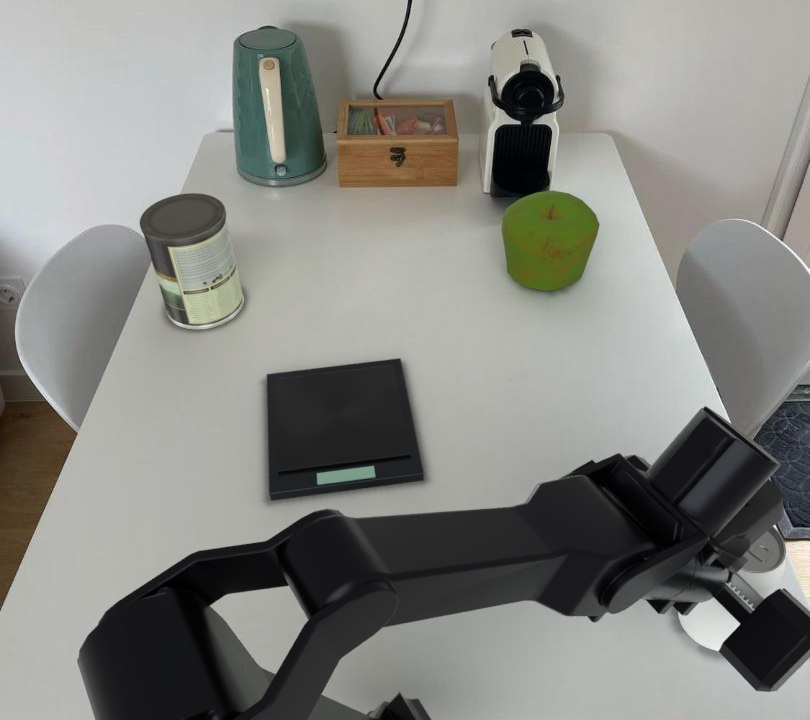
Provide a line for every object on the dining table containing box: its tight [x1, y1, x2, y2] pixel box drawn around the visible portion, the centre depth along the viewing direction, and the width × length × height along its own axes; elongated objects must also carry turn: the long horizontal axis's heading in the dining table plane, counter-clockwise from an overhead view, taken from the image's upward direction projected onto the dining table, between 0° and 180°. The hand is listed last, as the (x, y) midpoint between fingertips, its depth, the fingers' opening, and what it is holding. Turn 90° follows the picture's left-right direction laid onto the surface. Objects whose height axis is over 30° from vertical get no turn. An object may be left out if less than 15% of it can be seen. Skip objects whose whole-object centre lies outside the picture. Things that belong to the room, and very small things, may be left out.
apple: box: [501, 190, 600, 292], centre depth 106 cm, size 12×12×11 cm
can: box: [677, 526, 787, 652], centre depth 68 cm, size 6×6×12 cm
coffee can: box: [139, 192, 245, 331], centre depth 103 cm, size 10×10×14 cm
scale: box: [266, 357, 425, 501], centre depth 90 cm, size 18×16×2 cm
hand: (732, 570), depth 66 cm, fingers open, 9 cm apart
